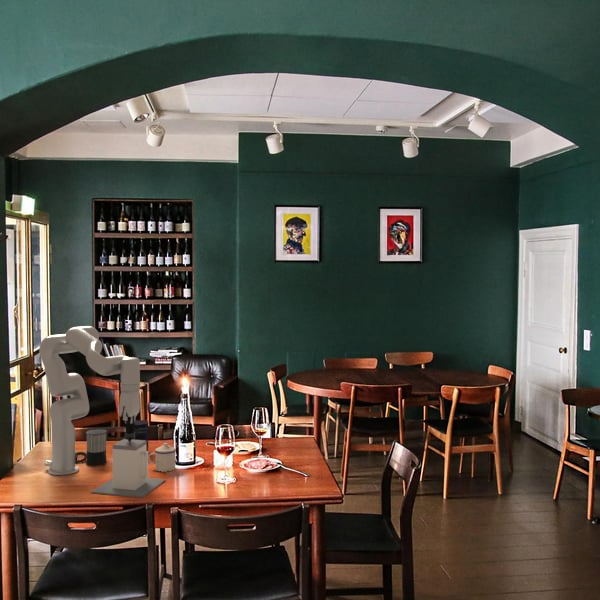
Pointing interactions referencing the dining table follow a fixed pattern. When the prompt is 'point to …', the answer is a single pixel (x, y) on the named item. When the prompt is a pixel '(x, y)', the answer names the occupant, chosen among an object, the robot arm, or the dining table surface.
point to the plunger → (129, 436)
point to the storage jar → (141, 431)
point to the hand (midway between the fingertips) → (130, 432)
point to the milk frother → (94, 448)
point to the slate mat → (140, 492)
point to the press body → (129, 464)
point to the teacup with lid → (164, 458)
